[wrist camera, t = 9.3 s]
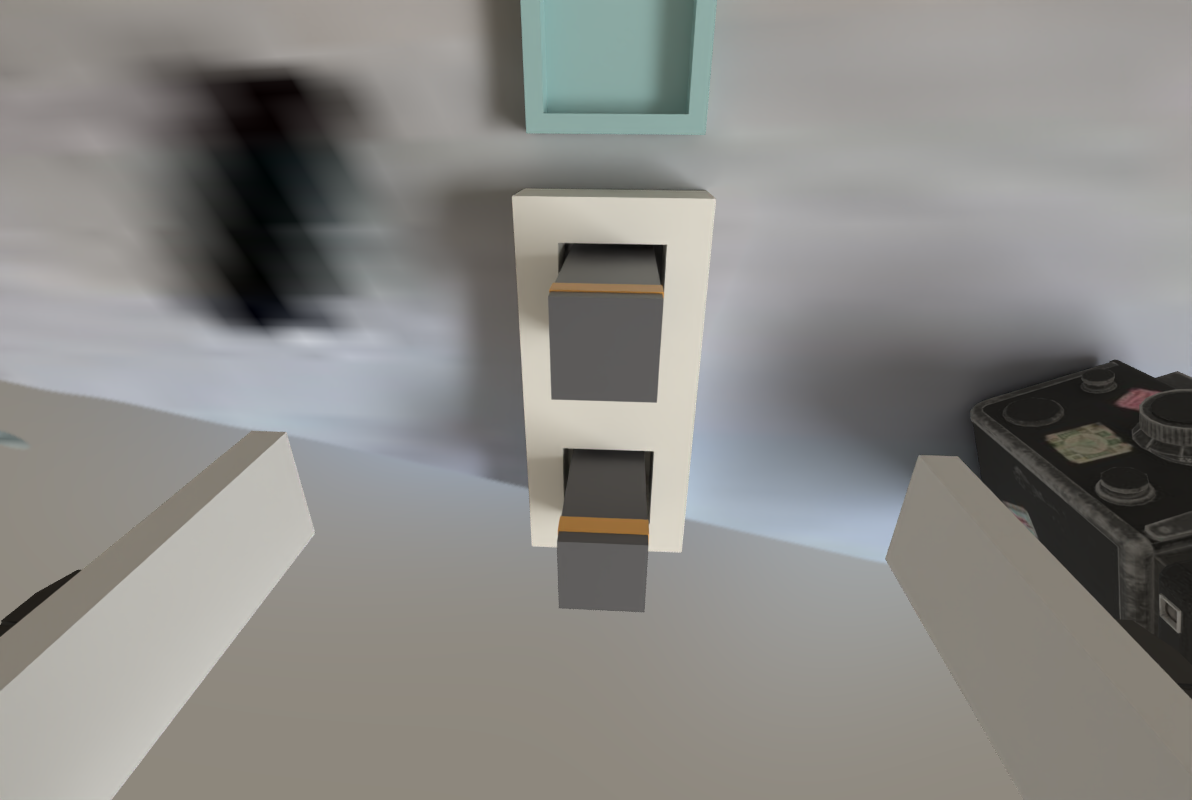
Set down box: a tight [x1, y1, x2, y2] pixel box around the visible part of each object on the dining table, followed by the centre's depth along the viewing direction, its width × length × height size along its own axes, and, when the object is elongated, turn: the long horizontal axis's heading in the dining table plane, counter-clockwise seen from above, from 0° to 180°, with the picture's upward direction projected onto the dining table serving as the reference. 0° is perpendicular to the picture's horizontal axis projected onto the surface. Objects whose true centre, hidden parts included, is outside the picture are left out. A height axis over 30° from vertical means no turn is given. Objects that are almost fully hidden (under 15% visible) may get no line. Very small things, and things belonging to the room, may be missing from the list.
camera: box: [970, 360, 1192, 665], centre depth 25 cm, size 10×10×15 cm
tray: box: [520, 0, 717, 135], centre depth 23 cm, size 10×8×2 cm
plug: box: [548, 243, 664, 403], centre depth 25 cm, size 4×4×10 cm
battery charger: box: [512, 188, 716, 612], centre depth 27 cm, size 20×9×10 cm, turn 0°
